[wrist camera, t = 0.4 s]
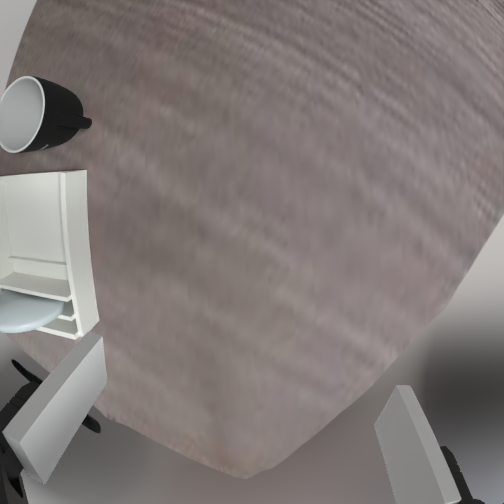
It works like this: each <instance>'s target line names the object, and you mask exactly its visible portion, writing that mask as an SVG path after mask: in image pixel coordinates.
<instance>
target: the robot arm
mask: <svg viewBox="0 0 504 504" xmlns="http://www.w3.org/2000/svg"><path fill="white" fill-rule="evenodd" d="M106 383H107V375H106V366H105V357H104V347H103V336H100V335H97V334H94V333H91V332H87V333H86V334H85V335H84V336H83V337H82V339H81V340H80V341H79V342H78V343H77V344H76V345H75V346H74V347H73V348H72V350H71V351H70V352H69V353H68V354H67V355H66V356H65V357H64V359H63V360H62V361H61V362H60V363H59V364H58V365H57V366H56V368H55V369H54V370H53V371H52V372H51V373H50V375H49V376H48V377H47V378H46V379H45V380H44V381H43V383H42V384H41V385H39V384H37V383H35V382H33V381H32V382H30V383H28V384H26V385H24V386H23V387H22V388H21V389H20V390H19V391H18V392H17V393H16V394H15V397H13V398H12V399H11V400H10V402H9V403H7V405H6V406H5V407H4V408H3V409H2V411H1V412H0V504H28V500H27V496H26V493H25V489H24V485H23V480H22V477H21V475H20V472H21V471H22V469H23V468H24V470H25V471H26V473H27V474H28V476H30V477H32V478H33V479H35V480H37V481H39V482H41V483H42V484H44V485H45V483H46V482H47V480H48V478H49V476H50V474H51V473H52V471H53V469H54V468H55V466H56V464H57V462H58V461H59V459H60V457H61V456H62V454H63V452H64V451H65V449H66V447H67V446H68V444H69V442H70V441H71V439H72V437H73V435H74V434H75V433H76V431H77V429H78V428H79V426H80V424H81V423H82V421H83V420H84V418H85V416H86V415H87V413H88V412H89V410H90V408H91V407H92V405H93V404H94V402H95V401H96V399H97V397H98V396H99V394H100V393H101V391H102V390H103V388H104V387H105V385H106ZM374 428H375V431H376V434H377V438H378V441H379V444H380V448H381V451H382V454H383V458H384V461H385V465H386V468H387V472H388V475H389V479H390V483H391V486H392V490H393V493H394V497H395V501H396V504H485V503H484V502H482V501H481V500H477V499H473V498H472V496H471V494H470V491H469V489H468V486H467V484H466V482H465V480H464V477H463V475H462V473H461V472H460V468H459V466H458V465H457V462H456V459H455V457H454V455H453V454H452V452H451V451H450V450H449V449H448V448H447V447H446V446H442V447H439V445H438V442H437V440H436V438H435V436H434V434H433V432H432V429H431V427H430V425H429V423H428V421H427V419H426V417H425V415H424V413H423V410H422V408H421V406H420V404H419V403H418V400H417V398H416V396H415V394H414V392H413V390H412V389H411V386H410V385H408V386H407V385H406V386H405V385H396V387H395V389H394V391H393V393H392V394H391V396H390V398H389V400H388V402H387V403H386V405H385V407H384V409H383V410H382V412H381V414H380V416H379V417H378V419H377V421H376V422H375V424H374ZM503 504H504V503H503Z"/></svg>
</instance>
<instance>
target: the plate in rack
mask: <svg viewBox="0 0 504 504" xmlns="http://www.w3.org/2000/svg"><path fill="white" fill-rule="evenodd" d="M64 307H65V301H61V300H55V299H50V298H45V297H40V296H35V295H31V294H26V293H21V292H17V291H12V290H8V289H6V290H3V291H1V292H0V332H4V333H19V332H25V331H30V330H34V329H37V328H39V327H42V326H44V325H46V324H48V323H50V322H51V321H53V320H54V319H56V318H57V317H58V316H59V315H60V314H61V313H62V312H63V310H64Z"/></svg>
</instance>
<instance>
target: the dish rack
mask: <svg viewBox="0 0 504 504" xmlns="http://www.w3.org/2000/svg"><path fill="white" fill-rule="evenodd" d="M6 289H8V290H12V291H17V292H21V293H26V294H31V295H35V296H40V297H45V298H50V299H55V300H61V301H65V307H64V310H63V312H62V313H61V314H60V315H59V316H58V317H57V318H56V319H54V320H53V321H51V322H50V323H48V324H46V325H44V326H42V327H39V328H37V329H36V330H40V331H43V332H47V333H51V334H55V335H59V336H63V337H67V338H71V339H75V340H76V339H77V338H78V337H79V336H81V337H83V336H84V335H85V334H86V333H87V332H89V331H90V330H91V329H92V328H93V327H94V326H95V324H96V323H97V322H98V321H99V316H98V310H97V303H96V296H95V289H94V282H93V273H92V264H91V255H90V243H89V230H88V213H87V170H71V171H54V172H40V173H28V174H17V175H7V176H1V177H0V292H1V291H3V290H6Z"/></svg>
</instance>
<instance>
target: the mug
mask: <svg viewBox="0 0 504 504" xmlns="http://www.w3.org/2000/svg"><path fill="white" fill-rule="evenodd" d="M91 124H92V120H91V119H90V118H85V117H83V107H82V104H81V102H80V100H79V99H78V97H77V96H76V95H75V94H74V93H72V92H71V91H69V90H68V89H66V88H64V87H62V86H60V85H58V84H56V83H53V82H51V81H48V80H45V79H41V78H38V77H34V76H23V77H20V78H18V79H17V80H15V81H14V82H13V83H11V84H10V86H9V87H8V88H7V89H6V90H5V92H4V93H3V95H2V97H1V99H0V145H1V147H2V148H3V149H4V150H6V151H7V152H10V153H23V152H31V151H36V150H42V149H46V148H50V147H54V146H57V145H60V144H62V143H64V142H66V141H68V140H69V139H71V138H72V137H73V136H74V135H75V134H76V133H77V131H78V130H79V128H85V129H87V128H90V126H91Z"/></svg>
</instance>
